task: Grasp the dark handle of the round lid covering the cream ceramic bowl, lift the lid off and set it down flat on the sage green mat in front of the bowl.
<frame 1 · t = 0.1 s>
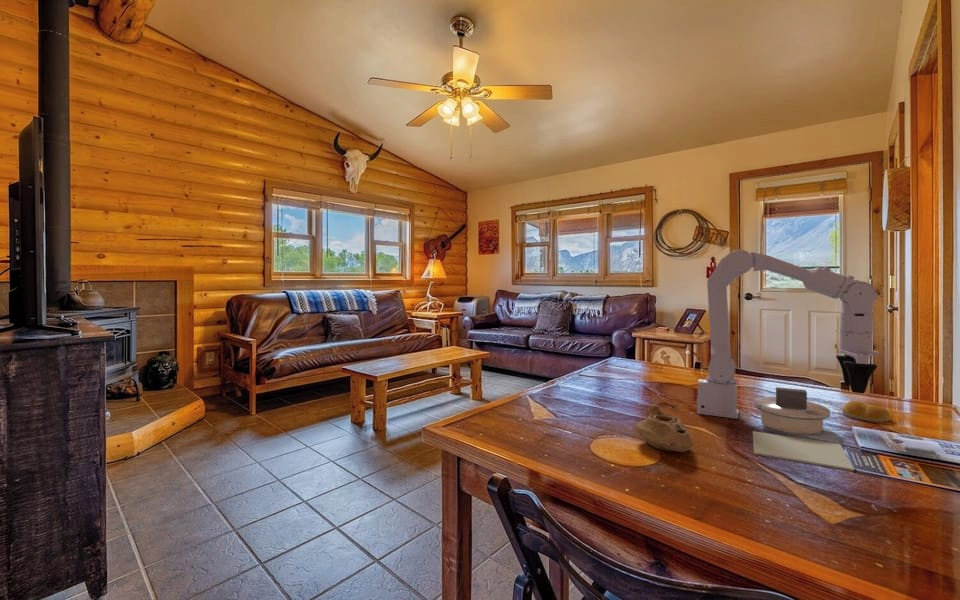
hand: (854, 388, 101), 10 cm above the table, tool pointing down, fingers open, 7 cm apart
bowl: (790, 425, 105), on the table
mat: (797, 449, 91), on the table
oil lamp: (667, 448, 93), on the table
lid: (790, 409, 105), point 4 cm above the table, touching bowl
bread roll: (864, 418, 111), on the table
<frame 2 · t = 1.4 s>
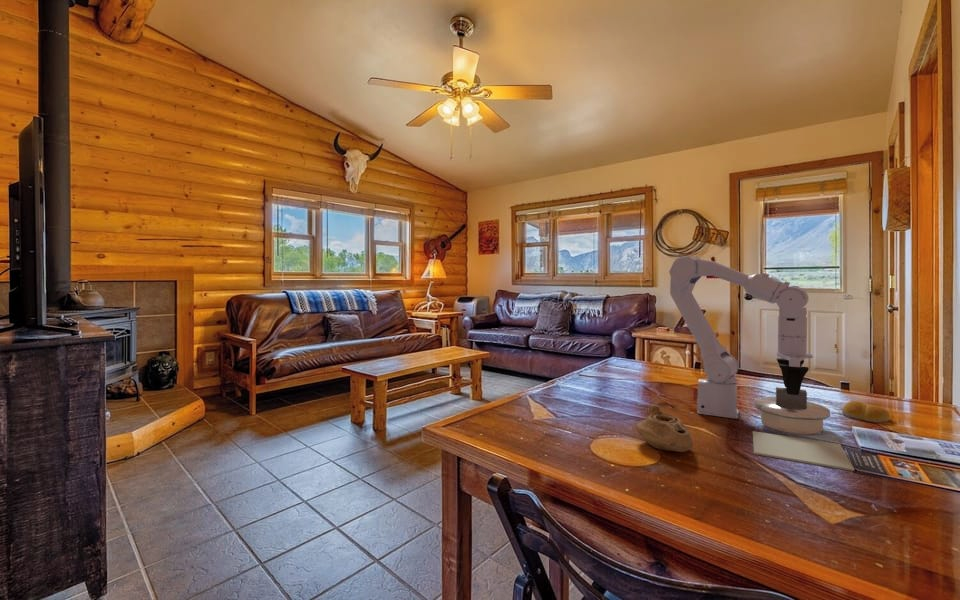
hand: (791, 390, 105), 9 cm above the table, tool pointing down, fingers open, 7 cm apart
nothing on the table moved.
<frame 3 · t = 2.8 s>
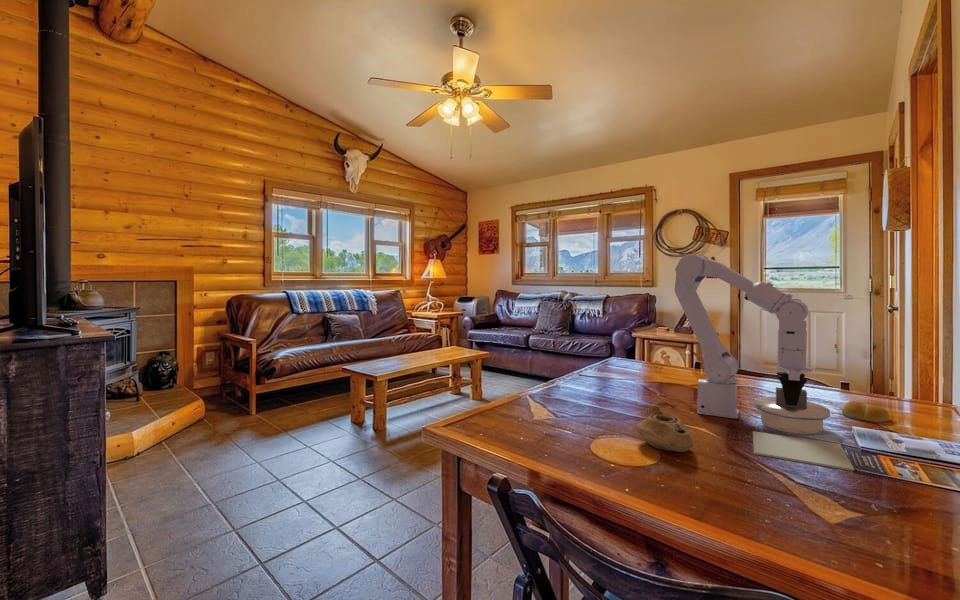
hand: (790, 403, 105), 6 cm above the table, tool pointing down, fingers closed on lid, 2 cm apart
lid: (790, 409, 105), point 4 cm above the table, touching bowl, gripper
everything else where it was.
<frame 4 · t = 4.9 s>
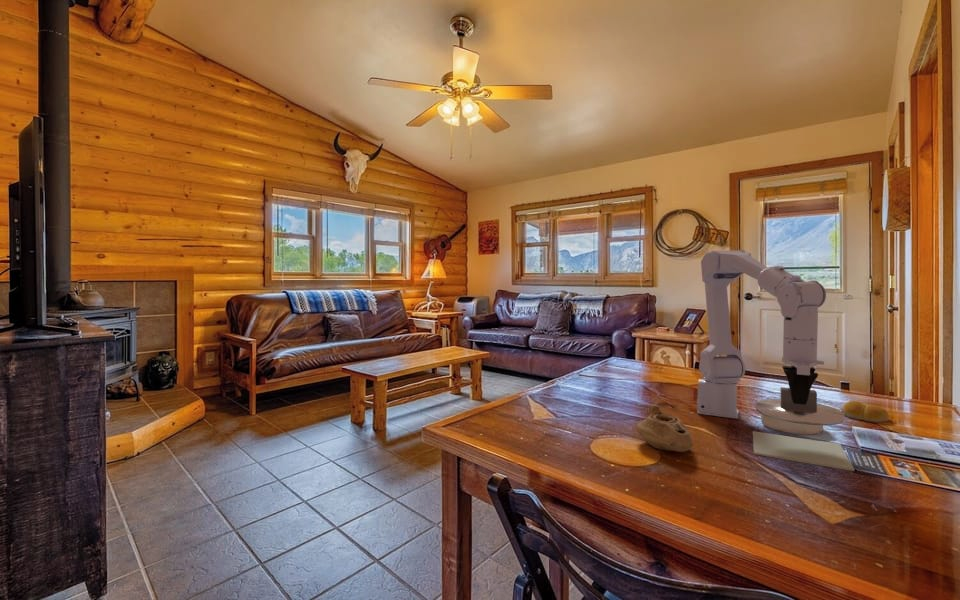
hand: (798, 402, 90), 10 cm above the table, tool pointing down, fingers closed on lid, 2 cm apart
lid: (798, 413, 90), point 8 cm above the table, touching gripper
everything else where it was.
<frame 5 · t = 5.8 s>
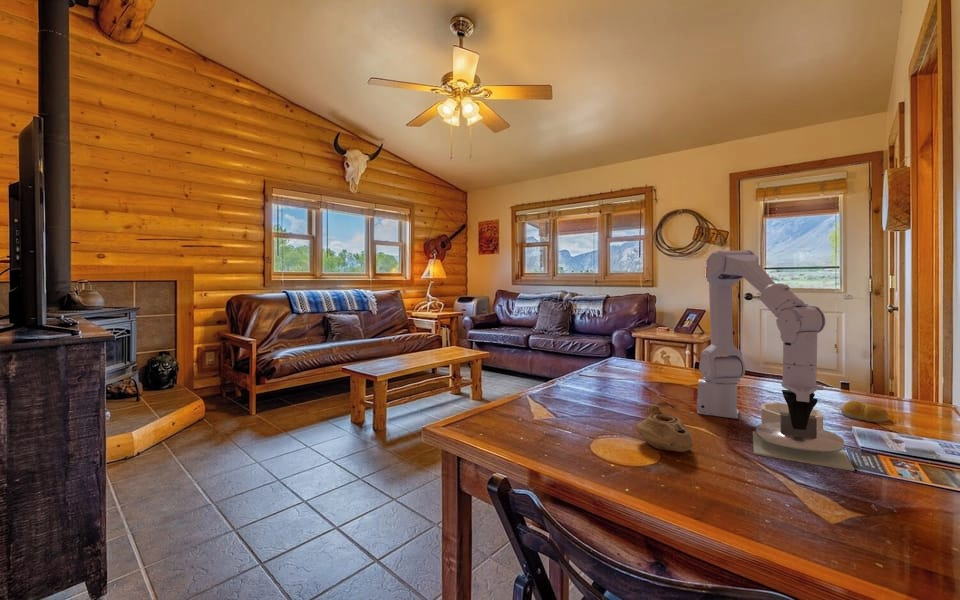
hand: (798, 426, 90), 5 cm above the table, tool pointing down, fingers closed on lid, 2 cm apart
lid: (797, 438, 91), point 2 cm above the table, touching gripper
everything else where it was.
when the fingers open (3 cm above the table, at t = 6.8 s): lid stays where it is, resting on mat.
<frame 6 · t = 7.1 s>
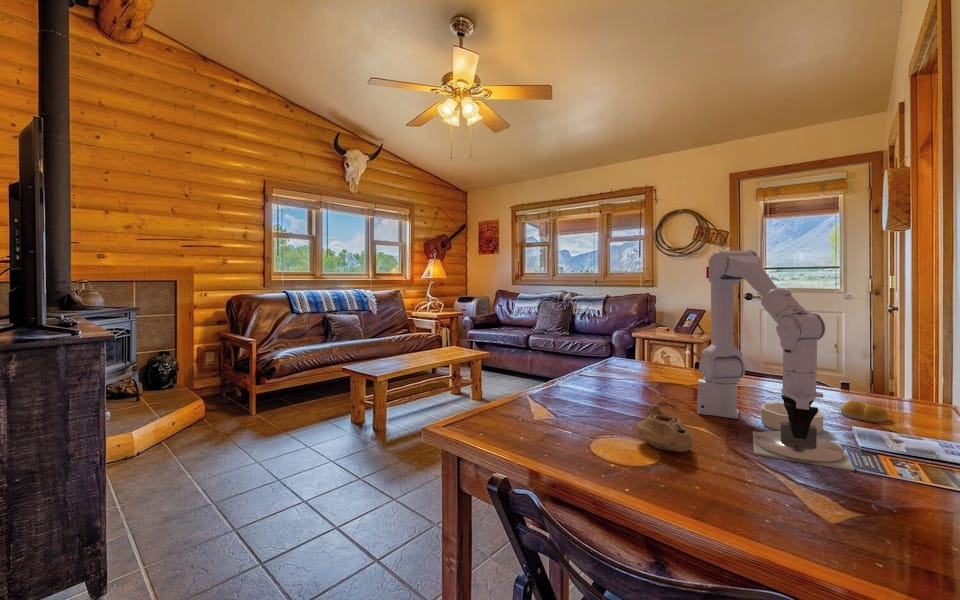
hand: (798, 433, 91), 4 cm above the table, tool pointing down, fingers open, 5 cm apart
lid: (797, 448, 91), resting on mat
everything else where it was.
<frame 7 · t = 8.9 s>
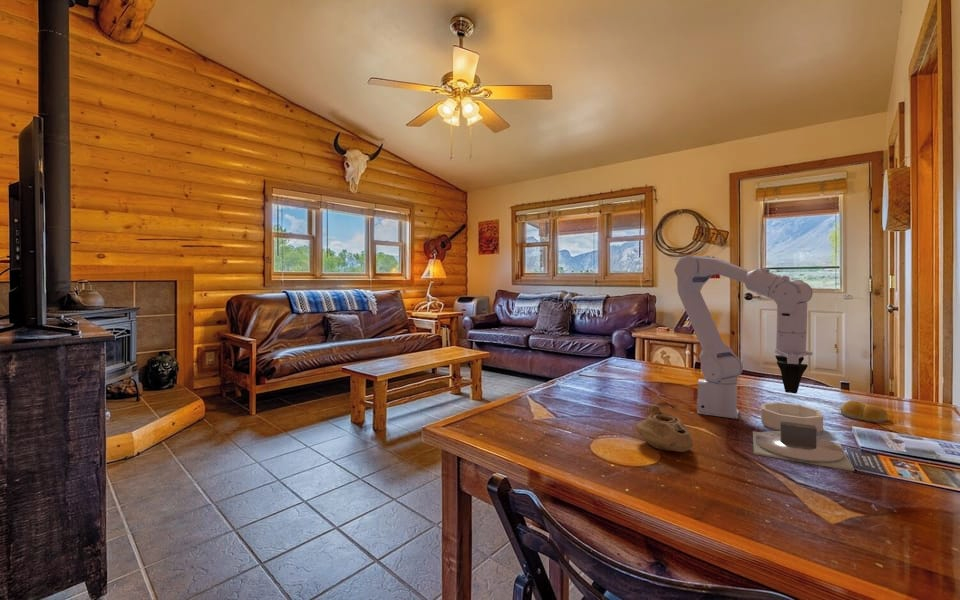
hand: (789, 388, 101), 10 cm above the table, tool pointing down, fingers open, 7 cm apart
nothing on the table moved.
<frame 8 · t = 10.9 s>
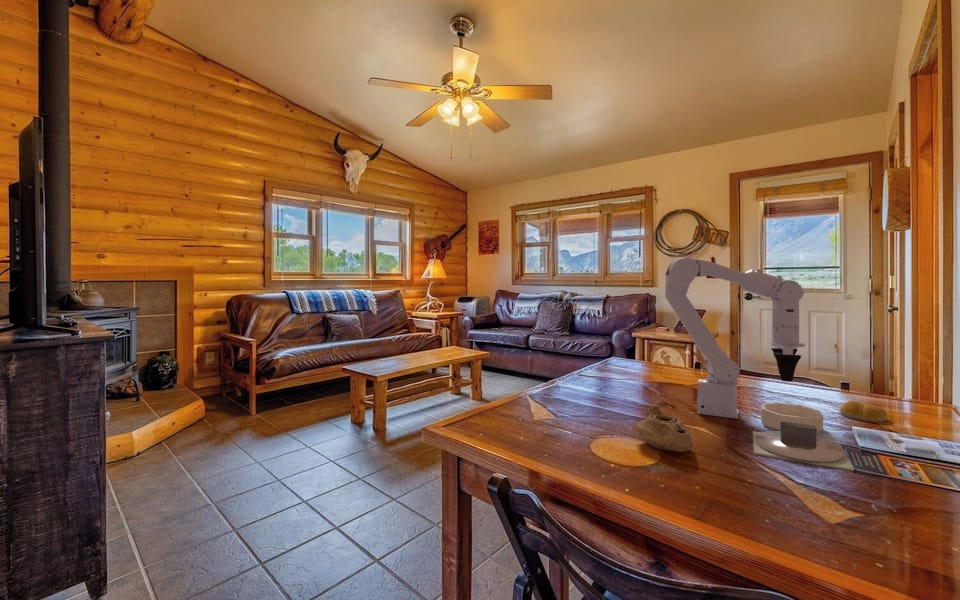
hand: (785, 377, 111), 10 cm above the table, tool pointing down, fingers open, 7 cm apart
nothing on the table moved.
at the end: lid inside the target area on the mat (0.0 cm from its centre), point 0.4 cm above the mat's base; lid touching mat; lid tilted 0° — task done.
